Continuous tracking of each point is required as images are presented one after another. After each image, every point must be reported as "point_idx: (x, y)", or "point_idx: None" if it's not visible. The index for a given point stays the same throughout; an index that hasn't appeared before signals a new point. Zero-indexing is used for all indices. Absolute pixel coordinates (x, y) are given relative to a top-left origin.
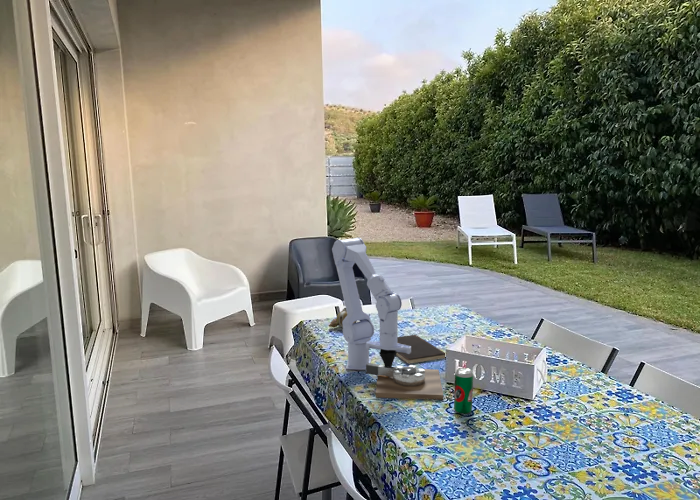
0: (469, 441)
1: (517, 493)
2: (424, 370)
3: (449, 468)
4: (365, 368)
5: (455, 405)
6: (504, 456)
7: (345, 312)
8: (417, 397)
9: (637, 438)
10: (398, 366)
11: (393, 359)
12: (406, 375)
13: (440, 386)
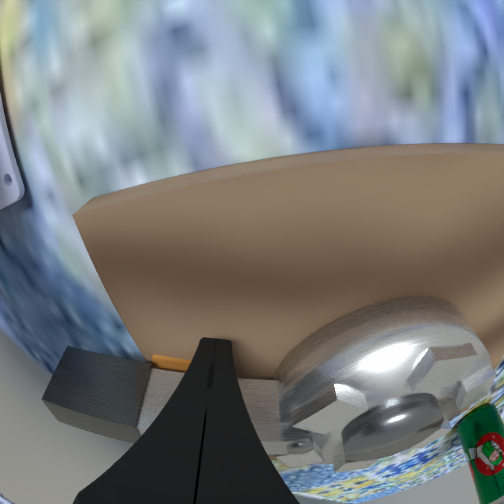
0: (427, 464)
1: (427, 481)
2: (487, 393)
3: (376, 492)
4: (2, 203)
5: (460, 441)
6: (452, 460)
7: None
8: None
9: None
10: (316, 417)
11: (256, 448)
12: (362, 464)
13: (493, 367)
